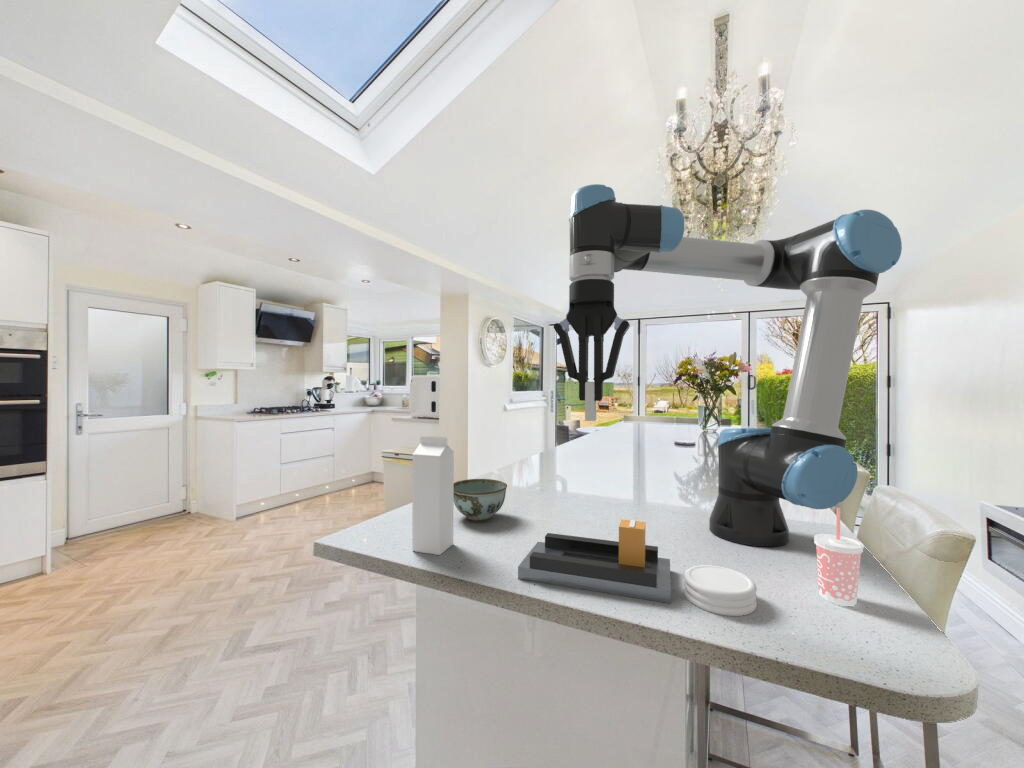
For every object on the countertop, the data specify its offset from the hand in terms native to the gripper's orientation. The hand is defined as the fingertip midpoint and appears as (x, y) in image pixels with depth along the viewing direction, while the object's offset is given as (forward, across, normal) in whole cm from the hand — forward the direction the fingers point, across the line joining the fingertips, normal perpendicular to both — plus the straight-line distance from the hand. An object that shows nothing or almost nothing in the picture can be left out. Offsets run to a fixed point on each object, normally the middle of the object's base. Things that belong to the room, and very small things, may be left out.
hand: (590, 420), depth 75 cm
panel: (+26, +1, 0) cm, 26 cm away
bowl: (+27, -30, +21) cm, 45 cm away
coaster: (+27, +20, -2) cm, 34 cm away
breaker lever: (+24, +7, 0) cm, 25 cm away
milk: (+27, -31, +1) cm, 41 cm away
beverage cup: (+27, +37, +4) cm, 46 cm away
